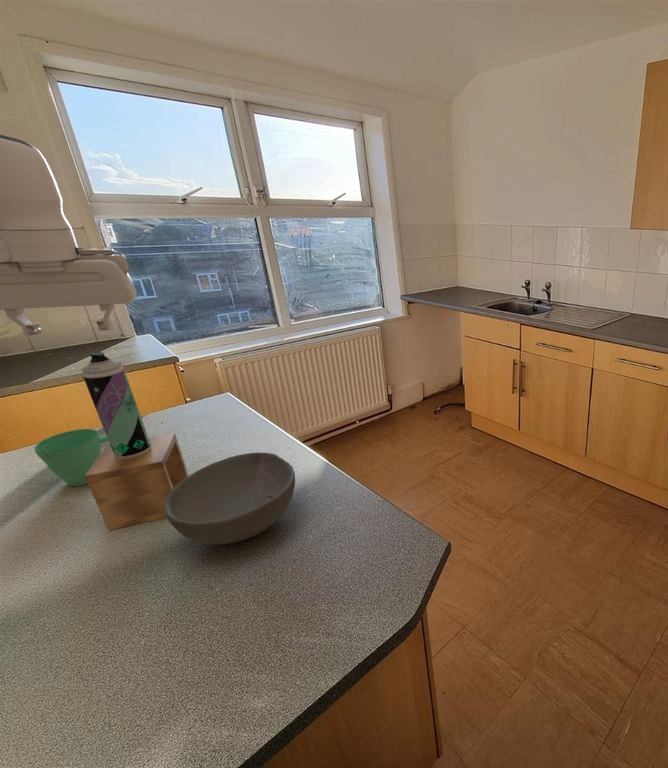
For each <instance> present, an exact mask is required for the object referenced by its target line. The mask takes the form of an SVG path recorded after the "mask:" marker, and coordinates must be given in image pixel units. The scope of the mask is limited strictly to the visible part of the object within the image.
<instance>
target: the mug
mask: <svg viewBox="0 0 668 768" xmlns="http://www.w3.org/2000/svg"><path fill="white" fill-rule="evenodd" d="M107 441H108V438H107V436H106V433H104V434H102V435H100V432H99V431H98V429H94V428H81V429H80V428H79V429H73V430H69V431H68V430H67V431H64V432H59V433H58V434H54V435H51V436H49V437H46V438H44V439H42V440H41V441H39V442H38V443H36V444H35V446H34V447H33V448H34V452H35V454H36V456H37V457H39V458H40V459H41V460H42V461H43V462H44V464H45V465H46V466H47V467H48V469H49V470H50V471H51V472H52V473H54V475H55V476H57V477H58V478H59V479H61V480H62V481H63V482H64V483H66V484H67V485H69V486H71V487H80V486H85V485H88V482H87V480H86V478H85V475H86V473H87V472H88V470H89V469H90V468H91V466H92V465H93V463H94V462H95V461H96V459H97V458H98V456H99V455H100V454H101V452H102V447H101V444H103V443H105V442H107ZM108 442H109V441H108Z"/></svg>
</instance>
